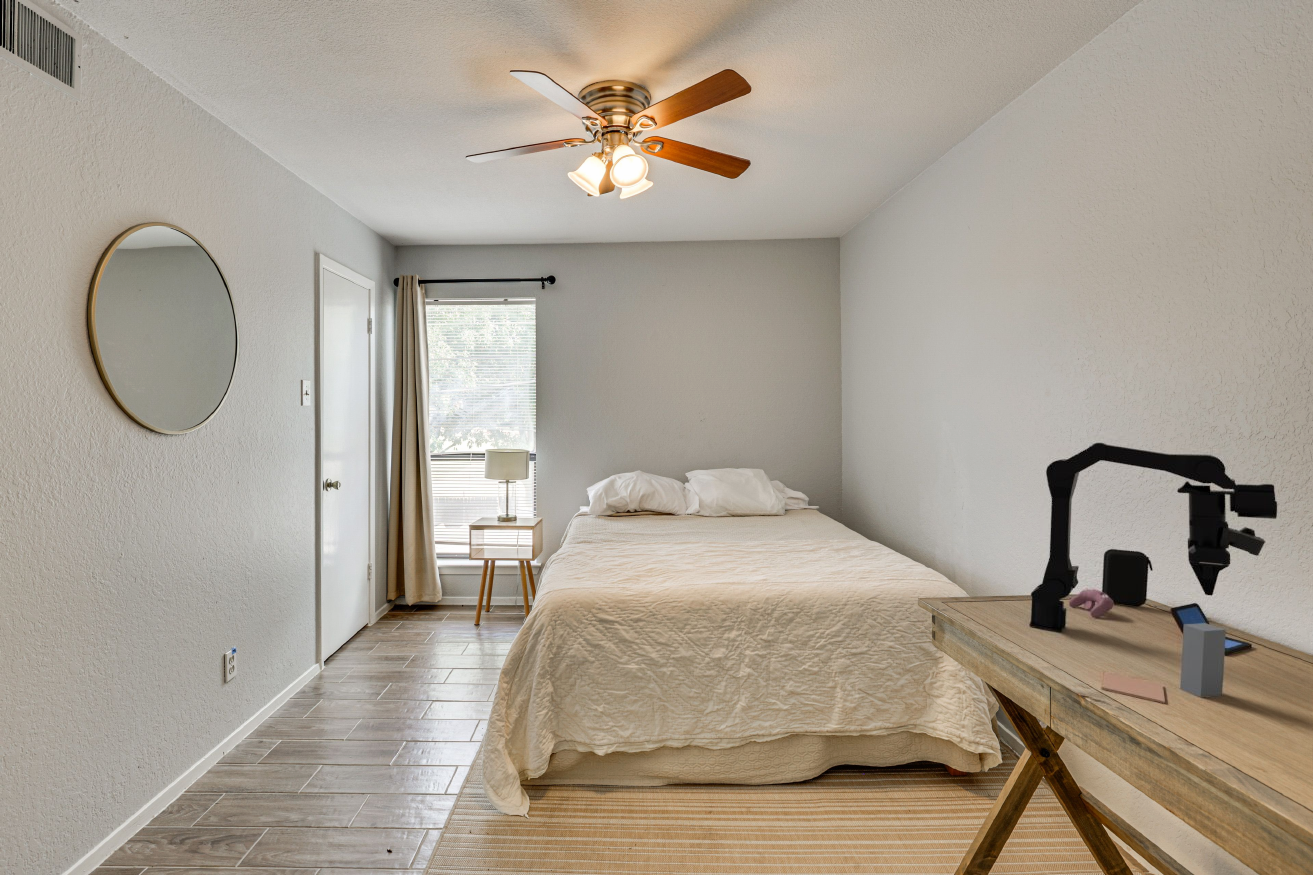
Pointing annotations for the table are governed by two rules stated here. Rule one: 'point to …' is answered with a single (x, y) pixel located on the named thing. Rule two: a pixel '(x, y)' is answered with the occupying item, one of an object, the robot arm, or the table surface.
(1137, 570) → the carrying case or bag
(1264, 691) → the table surface
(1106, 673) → the terracotta pad
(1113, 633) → the table surface
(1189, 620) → the handheld game console
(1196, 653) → the grey rectangular pillar
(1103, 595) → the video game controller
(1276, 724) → the table surface
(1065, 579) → the robot arm
